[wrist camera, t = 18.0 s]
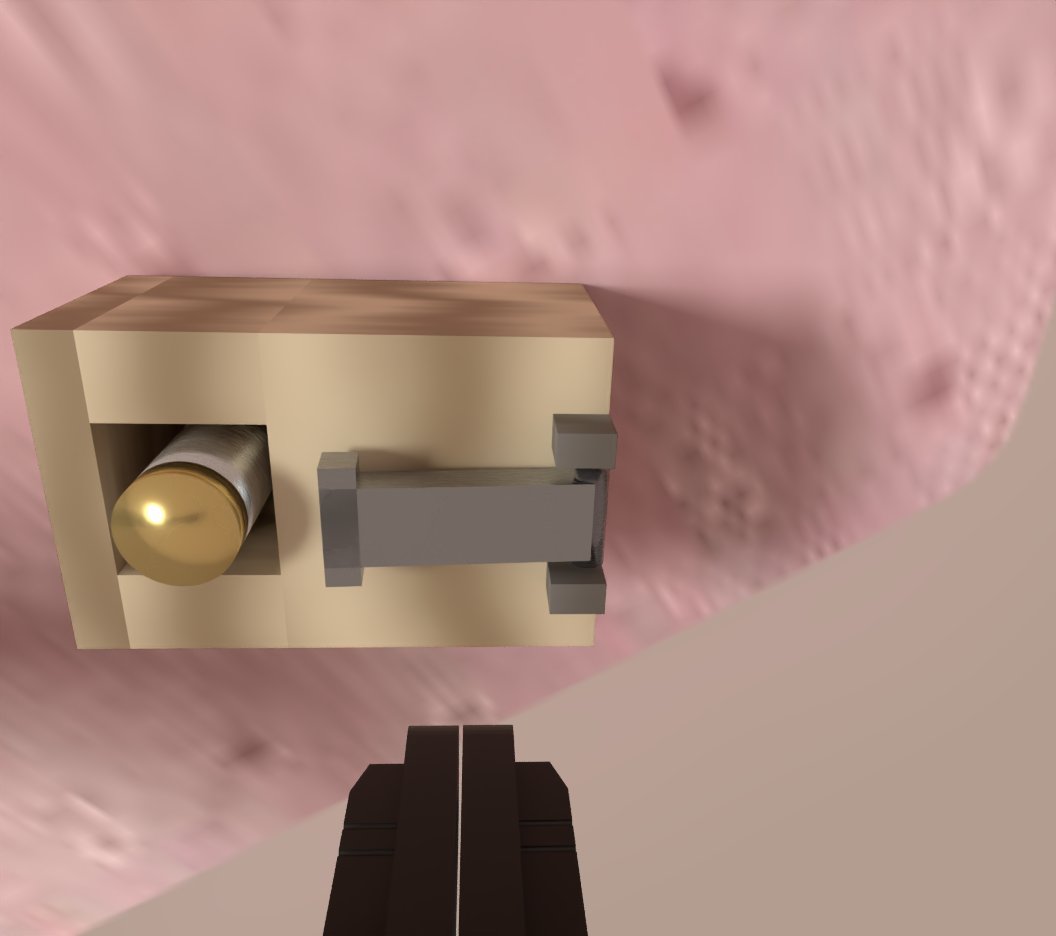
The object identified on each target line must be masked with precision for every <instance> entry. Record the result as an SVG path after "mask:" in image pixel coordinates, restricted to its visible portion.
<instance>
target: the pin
mask: <svg viewBox="0 0 1056 936" xmlns="http://www.w3.org/2000/svg"><path fill="white" fill-rule="evenodd" d="M272 489H273V486H272V475H271V465H270V454H269V444H268V434H267V425H248V424H186V425H185V426H184V428H183V429H182V430H181V431H180V432H179V433H178V434H177V435H176V436H175V437H174V438H173V439H172V441H171V442H170V443H169V444H168V445H167V446H166V447H165V448H164V449H163V450H162V451H161V453H160V454H159V455H158V456H157V457H156V458H155V459H154V460H153V461H152V462H151V463H150V464H149V466H148V467H147V468H146V469H145V470H144V471H143V472H142V473H141V474H140V475H139V476H138V477H137V479H136V480H135V481H134V482H133V483H132V484H131V485H130V486H129V487H128V488H127V489H126V490H125V492H124V493H123V494H122V495H121V496H120V498H119V499H118V501H117V502H116V504H115V507H114V509H113V512H112V518H111V530H112V535H113V539H114V542H115V544H116V547H117V549H118V550H119V552H120V554H121V555H122V556H123V558H124V559H125V560H126V561H127V562H128V563H129V564H130V565H131V566H132V567H133V568H134V569H135V570H136V571H138V572H139V573H141V574H142V575H144V576H145V577H147V578H149V579H151V580H154V581H156V582H159V583H162V584H166V585H171V586H182V587H186V586H195V585H201V584H204V583H207V582H209V581H211V580H214V579H215V578H217V577H218V576H220V575H221V574H223V573H224V572H225V571H226V570H227V569H228V568H229V566H230V565H231V564H232V562H233V561H234V559H235V557H236V555H237V553H238V552H239V550H240V548H241V546H242V544H243V542H244V540H245V539H246V537H247V535H248V533H249V531H250V529H251V528H252V526H253V524H254V522H255V520H256V518H257V516H258V515H259V513H260V511H261V509H262V507H263V505H264V504H265V502H266V500H267V498H268V496H269V494H270V492H271V491H272Z"/></svg>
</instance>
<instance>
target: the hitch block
mask: <svg viewBox="0 0 1056 936" xmlns="http://www.w3.org/2000/svg"><path fill="white" fill-rule="evenodd" d="M10 330H11V335H12V340H13V344H14V349H15V354H16V359H17V364H18V368H19V373H20V378H21V383H22V387H23V392H24V397H25V402H26V407H27V411H28V416H29V421H30V426H31V430H32V435H33V440H34V445H35V449H36V454H37V459H38V464H39V469H40V473H41V478H42V483H43V488H44V492H45V497H46V502H47V507H48V512H49V516H50V521H51V526H52V531H53V535H54V540H55V545H56V550H57V555H58V559H59V564H60V569H61V574H62V578H63V583H64V588H65V593H66V598H67V602H68V607H69V612H70V617H71V621H72V626H73V631H74V636H75V640H76V645H77V649H179V648H336V647H493V646H593V644H594V629H595V615H596V614H604V613H605V599H606V585H607V584H606V580H605V576H604V573H603V569H602V565H600V566H598V567H595V568H581V567H578V566H575V565H573V564H572V563H571V562H570V561H565V562H531V563H497V564H463V565H429V566H395V567H364V574H363V581H362V586H352V587H326V586H325V573H324V559H323V546H322V532H321V518H320V505H319V491H318V478H317V467H318V464H319V460H320V457H321V454H322V452H359V468H360V471H419V470H478V469H537V468H594V469H615V461H616V448H617V432H616V429H615V427H614V425H613V422H612V420H611V418H610V415H609V409H610V394H611V379H612V365H613V350H614V337H613V335H612V334H611V332H610V330H609V328H608V327H607V325H606V323H605V322H604V320H603V318H602V317H601V315H600V313H599V312H598V310H597V308H596V306H595V305H594V303H593V301H592V300H591V298H590V296H589V295H588V293H587V291H586V290H585V288H584V286H583V285H582V284H559V283H505V282H451V281H397V280H343V279H288V278H234V277H180V276H125V277H123V278H120V279H118V280H116V281H114V282H112V283H110V284H107V285H105V286H103V287H101V288H99V289H97V290H94V291H92V292H90V293H88V294H86V295H84V296H81V297H79V298H77V299H75V300H73V301H71V302H68V303H66V304H64V305H62V306H60V307H58V308H55V309H53V310H51V311H49V312H47V313H45V314H42V315H40V316H38V317H36V318H34V319H32V320H29V321H27V322H25V323H23V324H21V325H19V326H16V327H14V328H12V329H10ZM186 424H248V425H267V434H268V444H269V454H270V465H271V475H272V486H273V489H272V491H271V492H270V494H269V496H268V498H267V500H266V502H265V504H264V505H263V507H262V509H261V511H260V513H259V515H258V516H257V518H256V520H255V522H254V524H253V526H252V528H251V529H250V531H249V533H248V535H247V537H246V539H245V540H244V542H243V544H242V546H241V548H240V550H239V552H238V553H237V555H236V557H235V559H234V561H233V562H232V564H231V565H230V566H229V568H228V569H227V570H226V571H225V572H224V573H223V574H221V575H220V576H218V577H217V578H215V579H214V580H211V581H209V582H207V583H204V584H201V585H195V586H186V587H182V586H171V585H166V584H162V583H159V582H156V581H154V580H151V579H149V578H147V577H145V576H144V575H142V574H141V573H139V572H138V571H136V570H135V569H134V568H133V567H132V566H131V565H130V564H129V563H128V562H127V561H126V560H125V559H124V558H123V556H122V555H121V554H120V552H119V550H118V549H117V547H116V544H115V542H114V539H113V535H112V530H111V518H112V512H113V509H114V507H115V504H116V502H117V501H118V499H119V498H120V496H121V495H122V494H123V493H124V492H125V490H126V489H127V488H128V487H129V486H130V485H131V484H132V483H133V482H134V481H135V480H136V479H137V477H138V476H139V475H140V474H141V473H142V472H143V471H144V470H145V469H146V468H147V467H148V466H149V464H150V463H151V462H152V461H153V460H154V459H155V458H156V457H157V456H158V455H159V454H160V453H161V451H162V450H163V449H164V448H165V447H166V446H167V445H168V444H169V443H170V442H171V441H172V439H173V438H174V437H175V436H176V435H177V434H178V433H179V432H180V431H181V430H182V429H183V428H184V426H185V425H186Z"/></svg>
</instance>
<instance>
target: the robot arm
mask: <svg viewBox="0 0 1056 936" xmlns="http://www.w3.org/2000/svg"><path fill="white" fill-rule="evenodd" d="M461 804H462V805H461V850H460V851H461V852H460V895H459V896H460V897H459V936H588V933H587V925H586V918H585V910H584V903H583V897H582V889H581V881H580V874H579V867H578V860H577V852H576V844H575V837H574V830H573V826H572V815H571V808H570V801H569V793H568V788H567V786H566V785H565V783H564V782H563V781H562V779H561V778H560V776H559V775H558V773H557V772H556V770H555V769H554V768H553V766H552V764H551V763H550V762H515V752H514V734H513V725H463V757H462V803H461ZM458 820H459V726H409V728H408V734H407V742H406V751H405V760H404V764H370V765H369V766H368V767H367V769H366V770H365V772H364V773H363V774H362V776H361V777H360V778H359V780H358V781H357V782H356V784H355V785H354V787H353V788H352V789H351V791H350V793H349V798H348V804H347V809H346V814H345V820H344V829H343V830H342V836H341V841H340V847H339V856H338V857H337V862H336V868H335V873H334V879H333V884H332V890H331V894H330V900H329V905H328V910H327V916H326V921H325V926H324V932H323V936H456V911H457V870H458V822H459V821H458Z"/></svg>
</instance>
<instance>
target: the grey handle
mask: <svg viewBox="0 0 1056 936" xmlns="http://www.w3.org/2000/svg"><path fill="white" fill-rule="evenodd" d="M609 471H610V469H594V468H537V469H478V470H419V471H360V468H359V452H322V454H321V457H320V460H319V464H318V467H317V478H318V491H319V505H320V518H321V532H322V546H323V559H324V573H325V586H326V587H352V586H362V581H363V574H364V567H395V566H429V565H463V564H497V563H531V562H565V561H570V562H571V563H572V564H573V565H575V566H578V567H581V568H595V567H598V566H600V565H601V564H602V563H603V557H604V542H605V528H606V514H607V500H608V485H609Z"/></svg>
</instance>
